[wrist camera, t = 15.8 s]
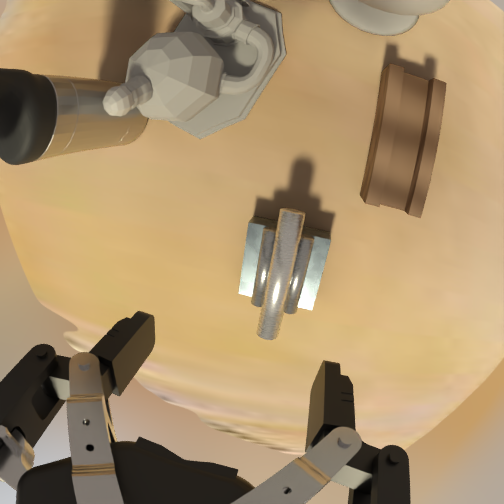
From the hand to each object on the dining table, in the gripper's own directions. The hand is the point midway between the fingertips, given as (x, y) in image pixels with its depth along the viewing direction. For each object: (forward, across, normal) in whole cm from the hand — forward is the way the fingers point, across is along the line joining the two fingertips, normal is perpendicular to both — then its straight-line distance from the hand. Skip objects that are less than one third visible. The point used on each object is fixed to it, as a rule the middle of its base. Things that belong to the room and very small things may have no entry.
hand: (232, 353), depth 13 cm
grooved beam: (+27, -12, -12) cm, 32 cm away
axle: (+22, -1, +7) cm, 23 cm away
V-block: (+27, -1, +7) cm, 28 cm away
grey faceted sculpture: (+28, +12, -18) cm, 35 cm away
